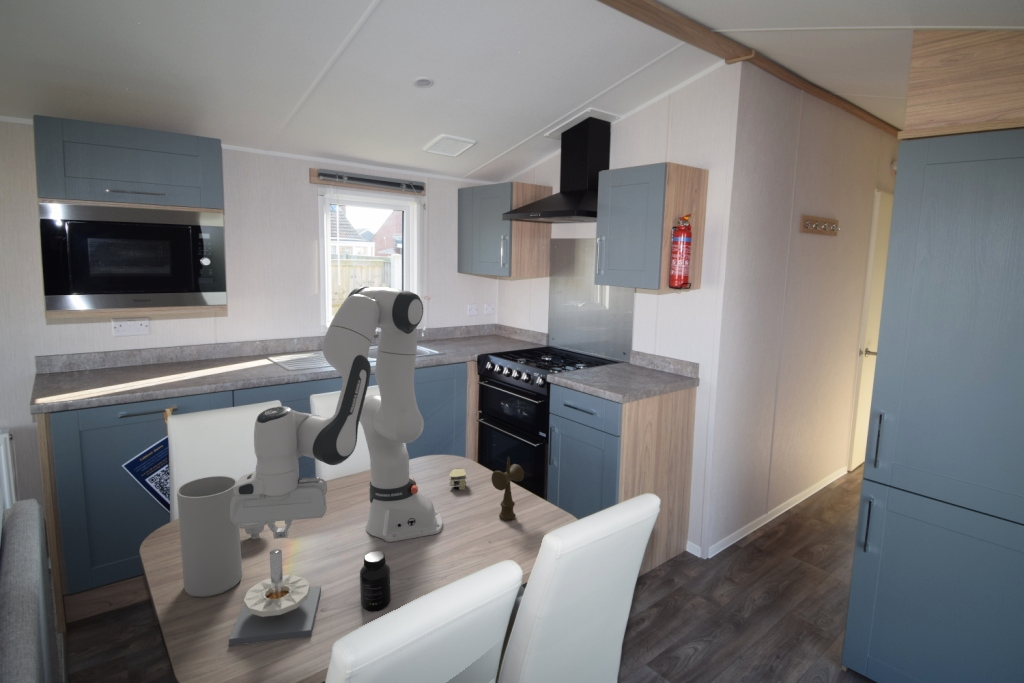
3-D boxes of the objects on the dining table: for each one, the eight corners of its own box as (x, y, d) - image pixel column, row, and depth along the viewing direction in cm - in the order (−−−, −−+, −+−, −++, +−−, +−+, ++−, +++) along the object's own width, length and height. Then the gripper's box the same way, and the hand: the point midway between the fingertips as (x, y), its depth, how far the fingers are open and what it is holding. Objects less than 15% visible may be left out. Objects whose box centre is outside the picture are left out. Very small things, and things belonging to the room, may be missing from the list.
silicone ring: (313, 577, 129) (312, 572, 129) (304, 612, 117) (303, 607, 116) (253, 583, 127) (253, 578, 126) (237, 619, 114) (237, 614, 114)
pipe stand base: (321, 591, 132) (320, 585, 131) (310, 636, 116) (310, 629, 116) (249, 598, 128) (249, 592, 128) (229, 645, 113) (228, 639, 113)
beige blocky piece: (445, 482, 198) (445, 467, 197) (470, 481, 199) (470, 467, 198) (444, 494, 188) (444, 478, 187) (470, 493, 189) (470, 478, 188)
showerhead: (248, 503, 161) (278, 507, 159) (249, 527, 162) (280, 531, 160) (225, 518, 152) (257, 522, 150) (227, 543, 153) (259, 547, 151)
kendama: (489, 520, 169) (490, 458, 166) (510, 509, 176) (511, 450, 173) (504, 526, 165) (505, 463, 162) (524, 515, 173) (526, 455, 170)
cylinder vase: (180, 603, 126) (172, 501, 122) (188, 574, 137) (181, 480, 133) (241, 591, 131) (235, 492, 127) (243, 564, 142) (238, 473, 138)
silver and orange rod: (296, 600, 126) (293, 543, 124) (290, 618, 120) (288, 558, 118) (266, 603, 125) (263, 545, 122) (259, 621, 118) (256, 561, 116)
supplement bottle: (363, 595, 131) (362, 548, 129) (392, 594, 131) (391, 547, 129) (357, 613, 124) (356, 564, 122) (388, 612, 124) (387, 563, 123)
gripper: (328, 471, 128) (330, 526, 130) (233, 477, 124) (237, 534, 126) (324, 482, 122) (327, 539, 124) (225, 488, 118) (229, 548, 120)
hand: (281, 537), depth 125 cm, fingers closed
